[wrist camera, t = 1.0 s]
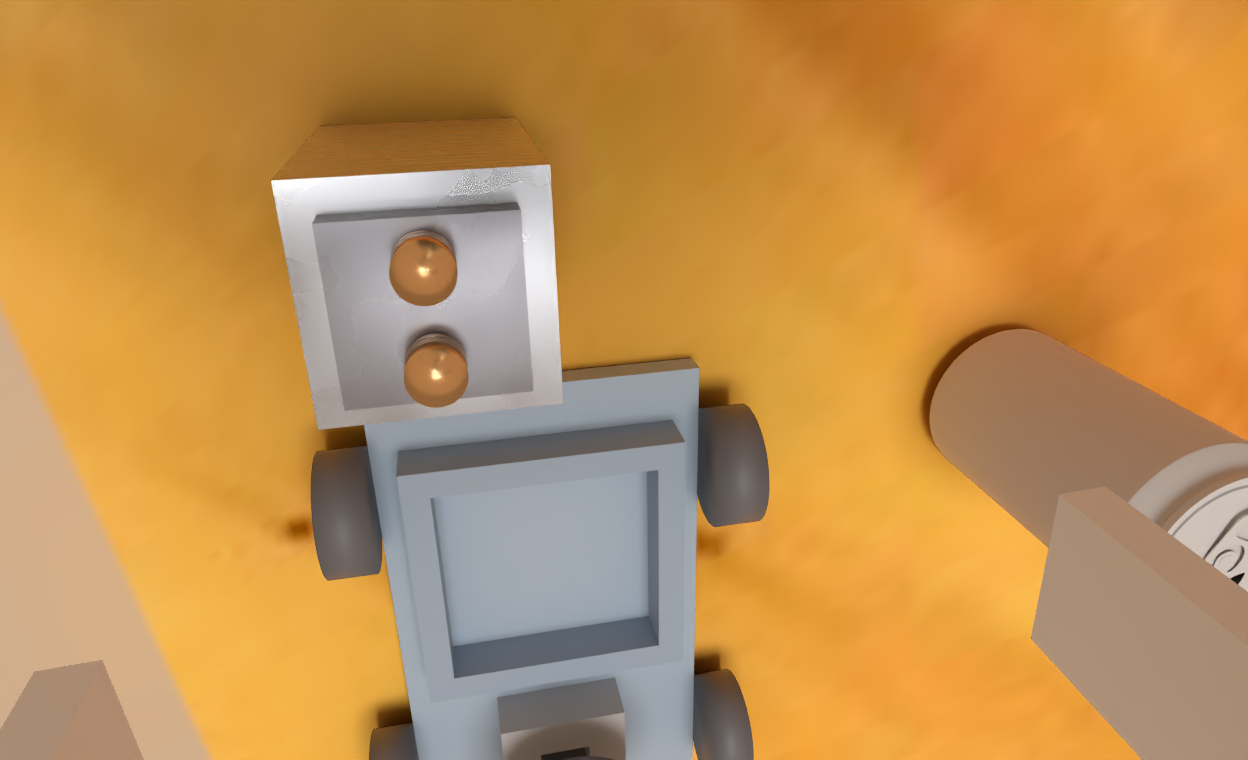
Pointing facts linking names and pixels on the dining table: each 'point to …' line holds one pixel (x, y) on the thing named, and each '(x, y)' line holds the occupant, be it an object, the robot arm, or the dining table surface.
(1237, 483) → the beverage can
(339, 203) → the twin lamp box
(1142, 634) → the robot arm
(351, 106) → the dining table surface
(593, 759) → the spare wheel
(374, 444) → the chassis
